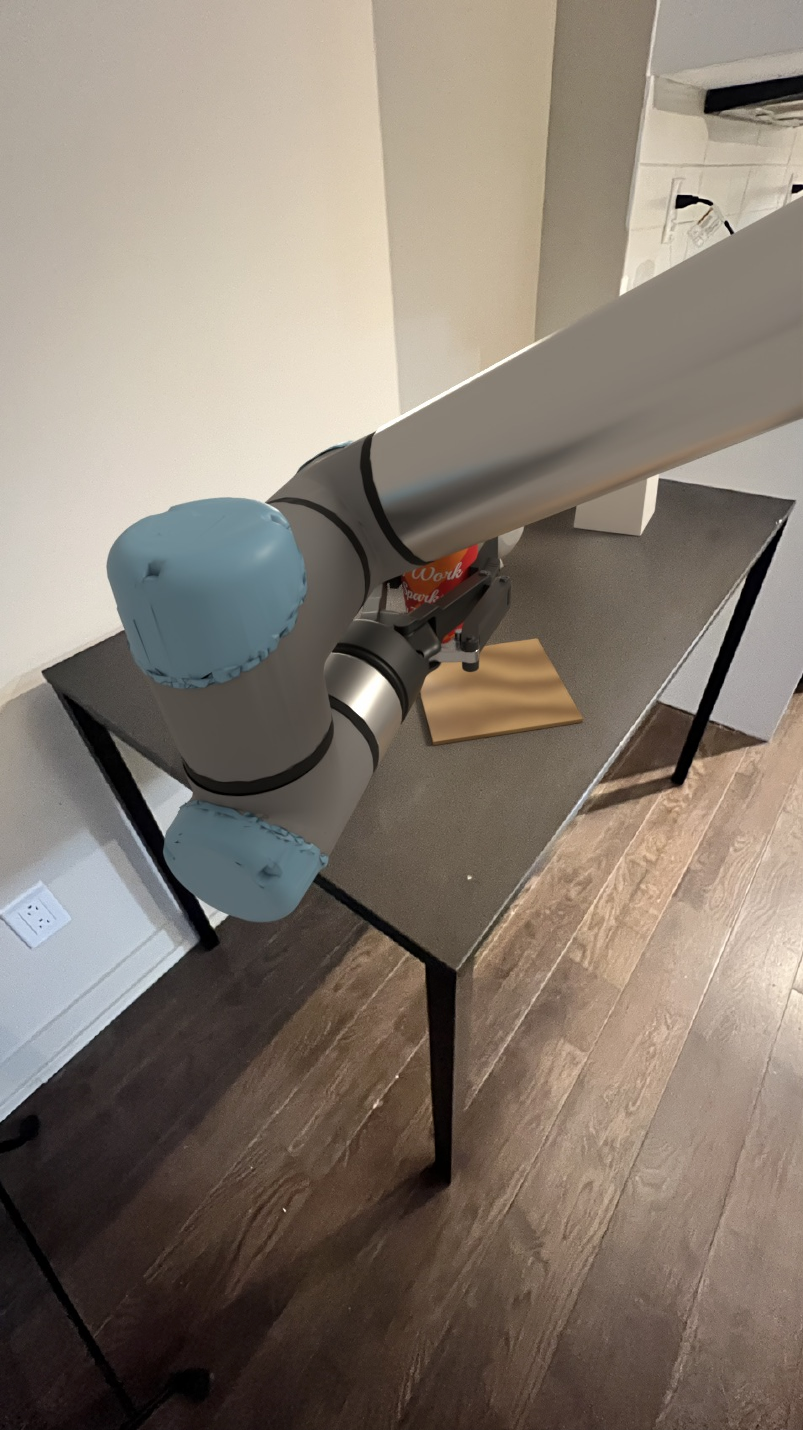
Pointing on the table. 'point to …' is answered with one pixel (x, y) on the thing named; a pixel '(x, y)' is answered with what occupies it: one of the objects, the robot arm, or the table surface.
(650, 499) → the milk
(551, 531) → the table surface
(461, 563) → the paper cup
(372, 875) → the table surface
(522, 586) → the table surface
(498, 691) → the wooden board
